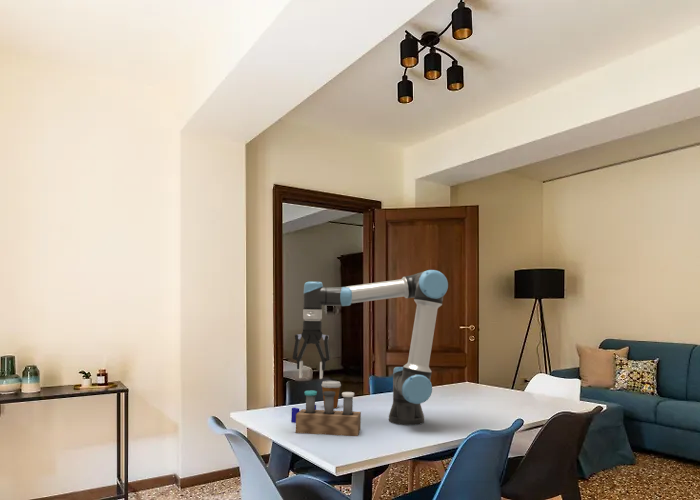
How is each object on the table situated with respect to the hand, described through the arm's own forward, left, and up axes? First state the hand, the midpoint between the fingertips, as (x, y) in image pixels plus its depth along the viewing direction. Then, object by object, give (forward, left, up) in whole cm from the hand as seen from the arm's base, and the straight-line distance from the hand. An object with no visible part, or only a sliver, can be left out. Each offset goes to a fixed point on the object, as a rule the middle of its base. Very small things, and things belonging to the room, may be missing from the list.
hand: (311, 378), depth 207 cm
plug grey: (-15, 0, -14) cm, 21 cm away
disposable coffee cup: (0, -46, -20) cm, 50 cm away
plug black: (-8, 0, -14) cm, 16 cm away
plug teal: (0, 0, -14) cm, 14 cm away
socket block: (-8, 0, -20) cm, 22 cm away
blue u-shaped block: (+6, -16, -21) cm, 27 cm away
